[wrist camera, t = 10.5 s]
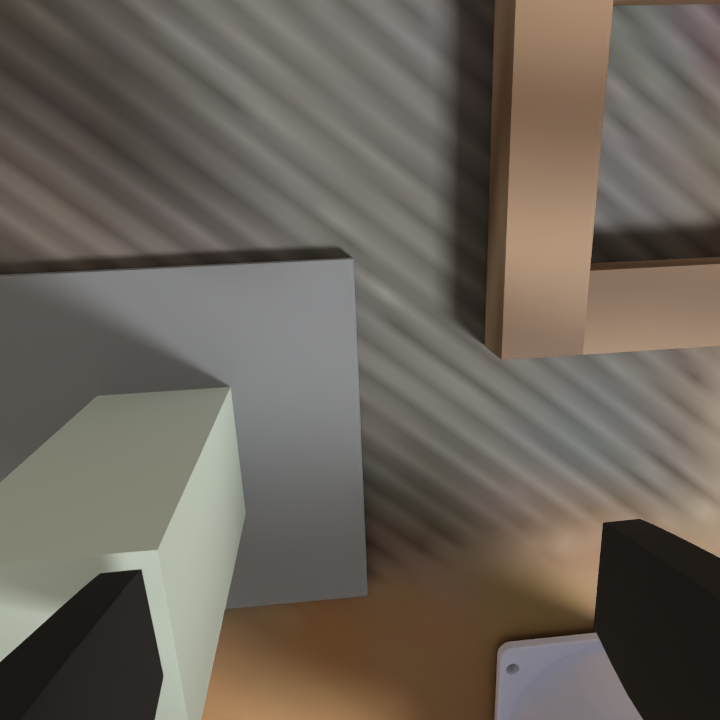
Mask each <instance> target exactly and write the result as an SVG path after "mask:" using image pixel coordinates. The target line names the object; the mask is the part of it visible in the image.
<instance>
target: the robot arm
mask: <svg viewBox="0 0 720 720" xmlns="http://www.w3.org/2000/svg"><path fill="white" fill-rule="evenodd" d="M594 629H595V631H596V633H587V634H577V635H568V636H558V637H548V638H539V639H529V640H519V641H510V642H506V643H504V644H503V645H501V647H500V648H499V649H498V653H497V674H496V696H495V718H494V720H720V558H719V557H717V556H715V555H713V554H711V553H709V552H707V551H705V550H703V549H701V548H699V547H697V546H695V545H694V544H692V543H690V542H688V541H686V540H684V539H682V538H680V537H678V536H676V535H674V534H672V533H670V532H668V531H666V530H663V529H661V528H659V527H657V526H655V525H653V524H650V523H648V522H646V521H644V520H641V519H635V520H625V521H615V522H605V523H603V530H602V541H601V552H600V563H599V574H598V585H597V596H596V607H595V618H594ZM511 664H513V665H511ZM509 665H510V666H509ZM163 677H164V675H163V671H162V666H161V661H160V656H159V651H158V646H157V642H156V637H155V632H154V627H153V622H152V618H151V613H150V608H149V603H148V598H147V593H146V589H145V584H144V579H143V574H142V569H137V570H127V571H117V572H107V573H100V574H99V575H97V576H96V577H95V578H94V579H92V580H91V581H90V582H89V583H88V584H86V585H85V586H84V587H83V588H82V589H81V590H80V591H78V592H77V593H76V594H75V595H74V596H73V597H72V598H71V599H69V600H68V601H67V602H66V603H65V604H64V605H63V606H62V607H61V608H59V609H58V610H57V611H56V612H55V613H54V614H53V615H52V616H51V617H50V618H48V619H47V620H46V621H45V622H44V623H43V624H42V625H41V626H40V627H39V628H37V629H36V630H35V631H34V632H33V633H32V634H31V635H30V636H29V637H28V638H26V639H25V640H24V641H23V642H22V643H21V644H20V645H19V646H17V647H16V648H15V649H14V650H13V651H12V652H11V653H10V654H8V655H7V656H6V657H5V658H4V659H3V660H2V661H1V662H0V720H155V716H156V711H157V706H158V701H159V697H160V692H161V687H162V682H163Z"/></svg>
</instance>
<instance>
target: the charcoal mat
mask: <svg viewBox="0 0 720 720" xmlns="http://www.w3.org/2000/svg"><path fill="white" fill-rule="evenodd" d="M221 387H231V394H232V402H233V411H234V419H235V428H236V436H237V444H238V453H239V461H240V469H241V478H242V486H243V495H244V503H245V511H246V515H245V519H244V524H243V529H242V533H241V538H240V543H239V547H238V552H237V556H236V561H235V566H234V570H233V575H232V580H231V584H230V589H229V594H228V598H227V603H226V607H225V609H235V608H245V607H256V606H266V605H277V604H287V603H298V602H308V601H319V600H329V599H340V598H350V597H360V596H368V587H367V564H366V540H365V517H364V494H363V471H362V447H361V424H360V401H359V377H358V354H357V331H356V307H355V284H354V261H353V258H352V257H349V258H329V259H309V260H288V261H268V262H248V263H227V264H207V265H187V266H166V267H146V268H125V269H105V270H85V271H64V272H44V273H24V274H3V275H0V482H1V481H2V480H3V479H5V478H6V477H7V476H8V475H9V474H10V473H11V472H12V471H14V470H15V469H16V468H17V467H18V466H19V465H20V464H21V463H23V462H24V461H25V460H26V459H27V458H28V457H29V456H30V455H32V454H33V453H34V452H35V451H36V450H37V449H38V448H39V447H40V446H42V445H43V444H44V443H45V442H46V441H47V440H48V439H49V438H51V437H52V436H53V435H54V434H55V433H56V432H57V431H58V430H60V429H61V428H62V427H63V426H64V425H65V424H66V423H67V422H69V421H70V420H71V419H72V418H73V417H74V416H75V415H76V414H78V413H79V412H80V411H81V410H82V409H83V408H84V407H85V406H86V405H88V404H89V403H90V402H91V401H92V400H93V399H94V398H95V397H97V396H101V395H116V394H131V393H146V392H161V391H176V390H191V389H206V388H221Z"/></svg>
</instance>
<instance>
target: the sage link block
mask: <svg viewBox="0 0 720 720" xmlns="http://www.w3.org/2000/svg"><path fill="white" fill-rule="evenodd" d="M245 515H246V511H245V503H244V495H243V486H242V478H241V469H240V461H239V453H238V444H237V436H236V428H235V419H234V411H233V402H232V394H231V387H221V388H206V389H191V390H176V391H161V392H146V393H131V394H116V395H101V396H97V397H95V398H94V399H93V400H92V401H91V402H90V403H89V404H88V405H86V406H85V407H84V408H83V409H82V410H81V411H80V412H79V413H78V414H76V415H75V416H74V417H73V418H72V419H71V420H70V421H69V422H67V423H66V424H65V425H64V426H63V427H62V428H61V429H60V430H58V431H57V432H56V433H55V434H54V435H53V436H52V437H51V438H49V439H48V440H47V441H46V442H45V443H44V444H43V445H42V446H40V447H39V448H38V449H37V450H36V451H35V452H34V453H33V454H32V455H30V456H29V457H28V458H27V459H26V460H25V461H24V462H23V463H21V464H20V465H19V466H18V467H17V468H16V469H15V470H14V471H12V472H11V473H10V474H9V475H8V476H7V477H6V478H5V479H3V480H2V481H1V482H0V662H1V661H2V660H3V659H4V658H5V657H6V656H7V655H8V654H10V653H11V652H12V651H13V650H14V649H15V648H16V647H17V646H19V645H20V644H21V643H22V642H23V641H24V640H25V639H26V638H28V637H29V636H30V635H31V634H32V633H33V632H34V631H35V630H36V629H37V628H39V627H40V626H41V625H42V624H43V623H44V622H45V621H46V620H47V619H48V618H50V617H51V616H52V615H53V614H54V613H55V612H56V611H57V610H58V609H59V608H61V607H62V606H63V605H64V604H65V603H66V602H67V601H68V600H69V599H71V598H72V597H73V596H74V595H75V594H76V593H77V592H78V591H80V590H81V589H82V588H83V587H84V586H85V585H86V584H88V583H89V582H90V581H91V580H92V579H94V578H95V577H96V576H97V575H99V574H100V573H107V572H117V571H127V570H137V569H142V574H143V579H144V584H145V589H146V593H147V598H148V603H149V608H150V613H151V618H152V622H153V627H154V632H155V637H156V642H157V646H158V651H159V656H160V661H161V666H162V671H163V675H164V677H163V682H162V687H161V692H160V697H159V701H158V706H157V711H156V716H155V720H201V719H202V714H203V709H204V705H205V700H206V695H207V691H208V686H209V681H210V677H211V672H212V668H213V663H214V658H215V654H216V649H217V644H218V640H219V635H220V631H221V626H222V621H223V617H224V612H225V607H226V603H227V598H228V594H229V589H230V584H231V580H232V575H233V570H234V566H235V561H236V556H237V552H238V547H239V543H240V538H241V533H242V529H243V524H244V519H245Z"/></svg>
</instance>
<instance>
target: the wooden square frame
mask: <svg viewBox="0 0 720 720" xmlns="http://www.w3.org/2000/svg"><path fill="white" fill-rule="evenodd" d="M658 4H720V0H495V17H494V51H493V84H492V117H491V151H490V184H489V217H488V251H487V284H486V317H485V347H487V348H488V349H489V350H490V351H492V352H493V353H494V354H495V355H496V356H498V357H499V358H500V359H501V360H505V359H521V358H536V357H552V356H567V355H583V354H598V353H614V352H629V351H645V350H660V349H676V348H691V347H707V346H720V257H702V258H683V259H664V260H644V261H625V262H606V263H591V254H592V242H593V231H594V219H595V207H596V196H597V184H598V173H599V161H600V150H601V138H602V127H603V115H604V103H605V92H606V80H607V69H608V57H609V46H610V34H611V23H612V11H613V5H658Z"/></svg>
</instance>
